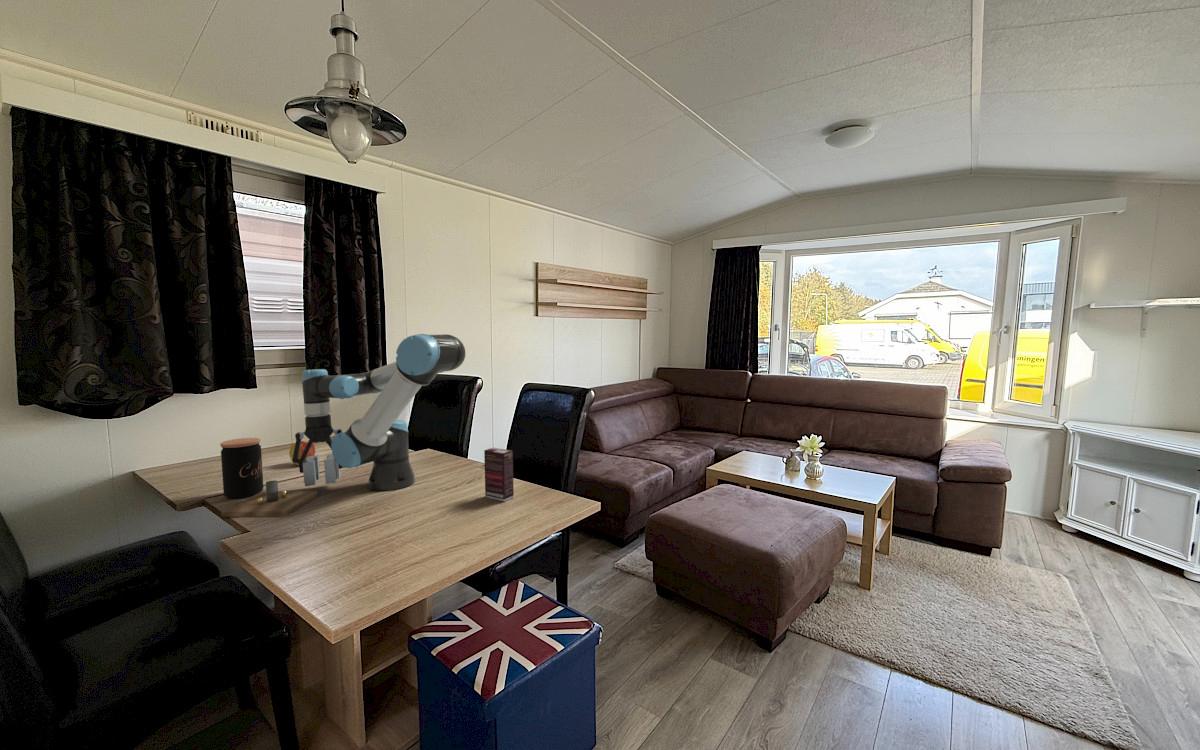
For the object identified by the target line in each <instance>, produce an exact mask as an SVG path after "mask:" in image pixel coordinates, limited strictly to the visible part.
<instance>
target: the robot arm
mask: <svg viewBox="0 0 1200 750" xmlns="http://www.w3.org/2000/svg"><path fill="white" fill-rule="evenodd" d="M395 352H396V353H395V354H396V357H395V361H393V362H391V363H388V364H385V365H383V366H380V367H378V368H374V369H372V370H370V371H367V372H360V373H350V374H341V375H340V374H339V375H329V374H328V373H329V372H328V370H327V369H325V368H319V369H306V370H303V371H302V374H301V376H302V377H301V384H302V396H303V408H304V409H303V412H304V415H305V418H304V421H305V423H304V424H305V430H304V431H301V432H299V431H297V432H296V433H295V434H294V436H295V443H296V444H295V449H294V454H293V459H292V460H291V461H292V463H293V464H294V463H298V464H299V466H298V469H299V473H300V474H303V476H304V468H303V462H304V460H305V458H306V456H307V454H308V452H309V450H310V448H311V446H312V444H314V443H315V444H316V443H326V444H327V445H328V447H329V448H330V449H331V454H333V456H334V458H335V460H336V473H337V480H340V478H341V471H340V469H343V468H344V469H345V468H346V469H352V468H358V467H360V466H363V465H366V464H369V463H372V468H371V471H370V475H369V478H368V488H369V489H371V490H375V491H389V490H390V491H391V490H393V491H394V490H399V489H403V488H407V487H410V486H411V485H413V484H414V483H415V482H416V481H415V480H416V477H415V472H414V470H413V467H412V465H411V463H410V457H409V456H410V455H409V454H410V453H409V451H410V449H409V447H410V445H409V429H408V427H409V425H408V423H407V422H406V421H405V420H401V419H398V418H399V417H400V415H401V414H402V413H403V411H404V410H405V409H406V407H407V406H408V405H409V403H410V402H411V401H412V399H413V398H414V397H415V396H416V394H417V393H418V392H419V391H420V390H421V388H422V386H423V387H425V386H428V385H430V384H431V383H432V381H433V380H434V379H435V378H436V376H437V375H438V374H440V373H441V374H442V373H444V372H451V371H454V370H456V369H459V367H461V365H462V364H463V363H464V361H465V359H466V348H465V346H464V343H463V342H462V341H461V340H460V339H459V338H458V337H456V336H454V335H452V334H444V333H443V334H425V333H418V334H413V335H410V336H407V337H405V338H403V340H401V342H400V343H399V344H398V346H397V349H396V351H395ZM377 393H379V394H378V396H377V397H376V398H375V400H374V401H373V403H372V404H371V406H370V407H369V408H368V410H367V411H366V413H365V414H364V416H363V417H362V418H358V419H355V420H353V422H352V423H351V425H350V426H349V427H348V429H347V430H346V431H344V432H343V429H342V428H337V429H334V428H333V427H332V426H333V425H332V418H331V416H332V415H331V414H330V413H331V406H330V405H331V403H330V399H341V400H343V399H351V398H354V397H357V396H361V395H362V396H363V395H370V394H377ZM333 433H334V437H332V438H331V436H332V434H333ZM304 436H305V437H306V438H308V441H309V442H308V444H307V446H306V448H305V450H304V452H303V454H302V456H301V458H300V459H299V458H298V456H299V451H300V446H301V441H303V440H302V439H303V438H304ZM303 484H305V480H304V479H303Z"/></svg>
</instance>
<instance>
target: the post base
mask: <svg viewBox="0 0 1200 750" xmlns="http://www.w3.org/2000/svg"><path fill="white" fill-rule="evenodd" d="M278 485H279V484H278V480H274V479H273V480H269V481H268V480H267V481H266V482H265V491H263V490H262V491H261V492H260V493H258V494H256V495H254V496H252V497H248V498H245V499H243V500H242V501H240V502H238V503H236V504H234V505H233V506H230V507H229V508H226V509H225V510H222V511H221V518H229V517H230V518H231V517H232V518H234V517H235V518H237V517H239V518H240V517H241V518H243V517H244V518H245V517H246V518H247V517H248V518H249V517H285V516H287V515H289V514H290V513H292V512H293V511H295V510H297V509H298V508H300V507H301V506H303V505H305V504H307V503H308V502H309V501H311V500H313V499H314V498H316V497H317V496H319V492H318V490H285V491H286V495H287V497H286V498H282V491H283V490H281V491H280V490H279V488H278V487H279V486H278ZM259 497H262V498H263V504H262V505H258V498H259Z"/></svg>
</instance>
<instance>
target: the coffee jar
mask: <svg viewBox="0 0 1200 750" xmlns="http://www.w3.org/2000/svg"><path fill="white" fill-rule="evenodd" d="M260 443H261V438H258V437H242V438H235V439H229V440H225V441H223V442H220V445H219V446H220V447H221V448H222V449H221V451H220V459H221V475H222V489H223V495H224V497H226V498H227V499H229V500H242V499H248V498H250V497H252V496H254V495H256V494H258V493H260V492H262V491H263V490H264V476H263V475H264V473H263V457H262V455H263V454H262V446H261V445H260Z"/></svg>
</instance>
